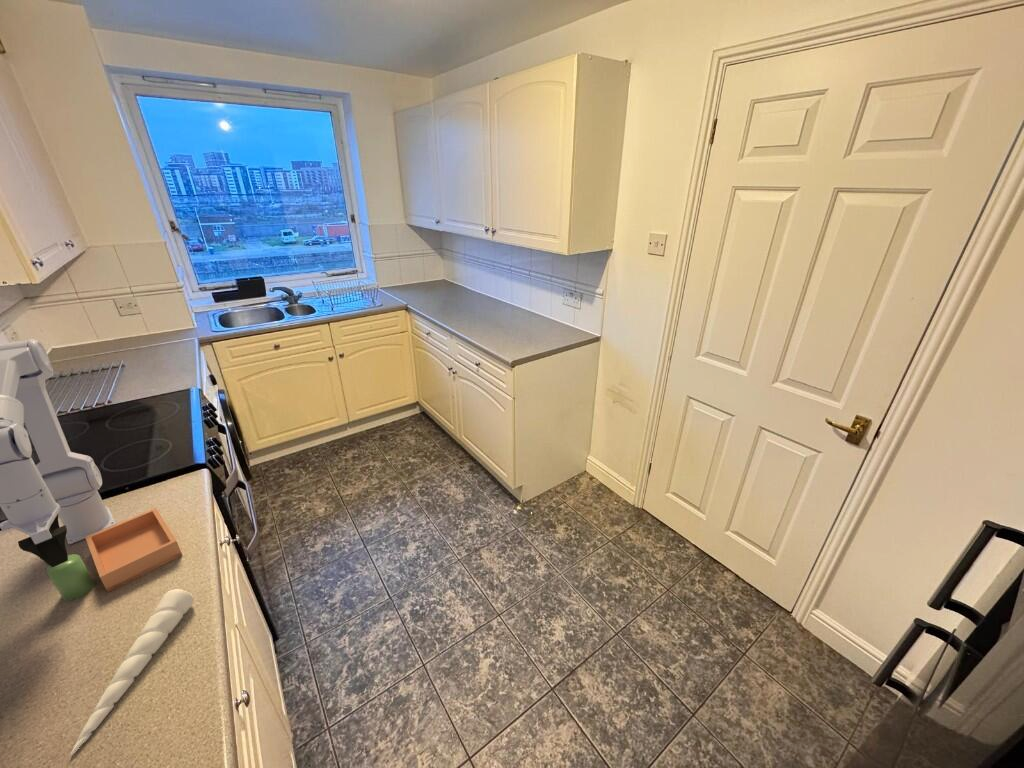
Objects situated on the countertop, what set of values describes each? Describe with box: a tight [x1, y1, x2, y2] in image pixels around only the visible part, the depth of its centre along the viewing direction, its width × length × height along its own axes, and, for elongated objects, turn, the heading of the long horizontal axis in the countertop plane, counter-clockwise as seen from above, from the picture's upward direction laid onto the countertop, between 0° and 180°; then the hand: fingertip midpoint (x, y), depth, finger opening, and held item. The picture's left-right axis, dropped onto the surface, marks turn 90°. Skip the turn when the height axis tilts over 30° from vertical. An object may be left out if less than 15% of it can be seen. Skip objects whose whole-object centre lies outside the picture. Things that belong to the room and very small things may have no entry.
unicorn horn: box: [69, 588, 194, 756], centre depth 66 cm, size 5×24×5 cm, turn 0°
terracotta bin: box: [85, 507, 183, 593], centre depth 88 cm, size 16×12×4 cm
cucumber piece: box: [46, 553, 96, 601], centre depth 79 cm, size 4×4×7 cm
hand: (57, 552), depth 77 cm, fingers open, 7 cm apart
